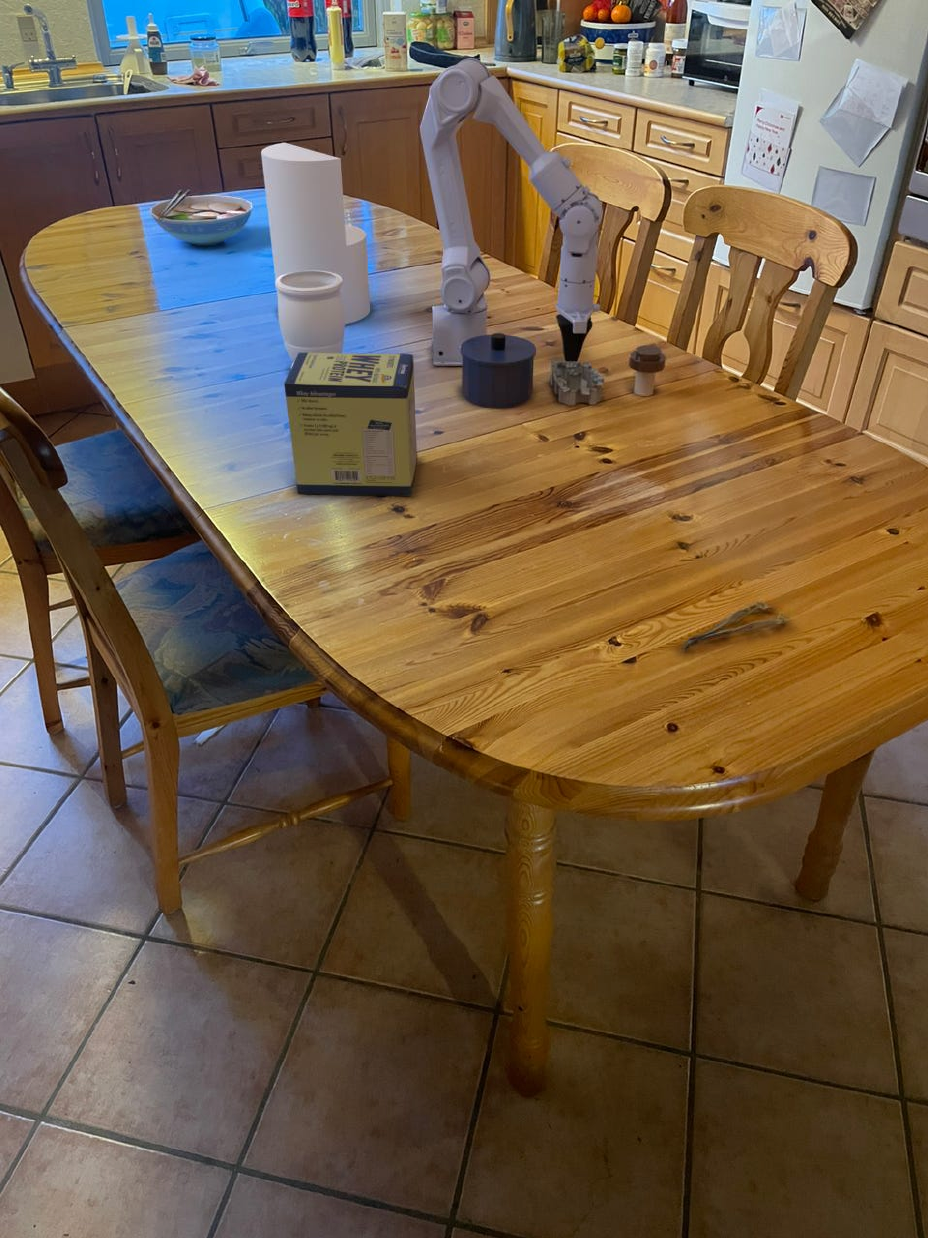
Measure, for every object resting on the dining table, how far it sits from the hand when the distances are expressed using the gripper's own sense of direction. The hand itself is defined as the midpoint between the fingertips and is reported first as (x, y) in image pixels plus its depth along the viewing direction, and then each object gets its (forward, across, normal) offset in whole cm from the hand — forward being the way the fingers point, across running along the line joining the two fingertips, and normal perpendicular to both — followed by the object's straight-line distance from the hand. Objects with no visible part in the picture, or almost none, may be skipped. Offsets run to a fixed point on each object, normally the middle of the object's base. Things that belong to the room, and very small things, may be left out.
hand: (570, 360), depth 159 cm
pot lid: (-6, -10, +13) cm, 17 cm away
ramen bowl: (+2, +76, +75) cm, 107 cm away
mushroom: (+1, -10, -11) cm, 15 cm away
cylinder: (+2, +29, +44) cm, 52 cm away
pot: (+2, -10, +13) cm, 16 cm away
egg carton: (+2, -10, 0) cm, 10 cm away
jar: (+2, 0, +42) cm, 43 cm away
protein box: (+2, -37, +33) cm, 50 cm away
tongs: (+2, -73, -9) cm, 73 cm away
